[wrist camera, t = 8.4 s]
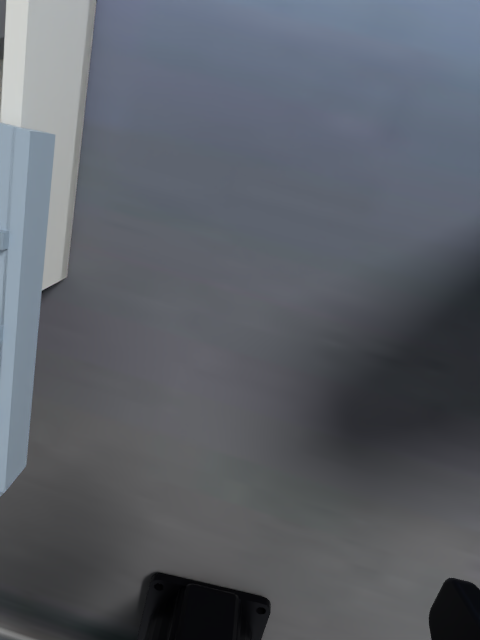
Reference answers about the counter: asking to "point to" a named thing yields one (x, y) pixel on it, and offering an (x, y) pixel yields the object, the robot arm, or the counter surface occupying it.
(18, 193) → the lid
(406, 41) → the counter surface
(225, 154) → the counter surface
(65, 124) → the tub
